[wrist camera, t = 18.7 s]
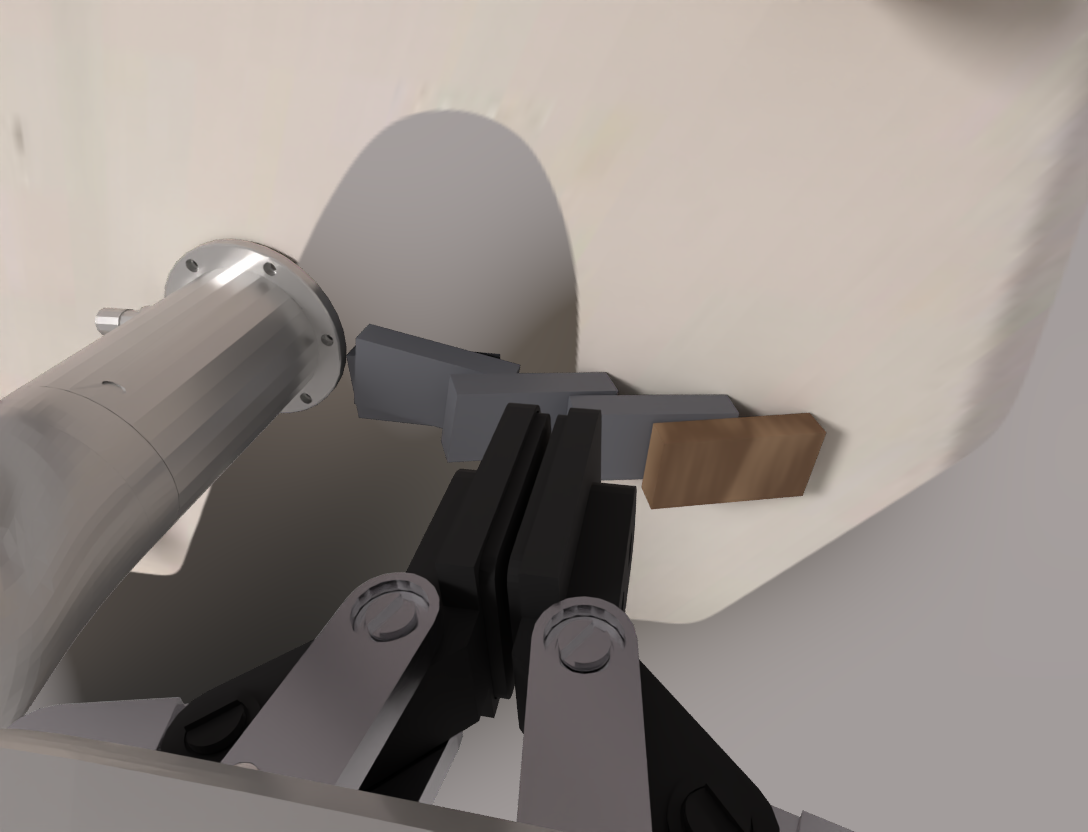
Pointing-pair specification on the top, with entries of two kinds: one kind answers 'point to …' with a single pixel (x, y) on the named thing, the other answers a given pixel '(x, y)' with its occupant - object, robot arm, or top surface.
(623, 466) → the domino
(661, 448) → the domino
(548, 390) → the domino
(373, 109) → the top surface
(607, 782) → the robot arm
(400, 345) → the domino
